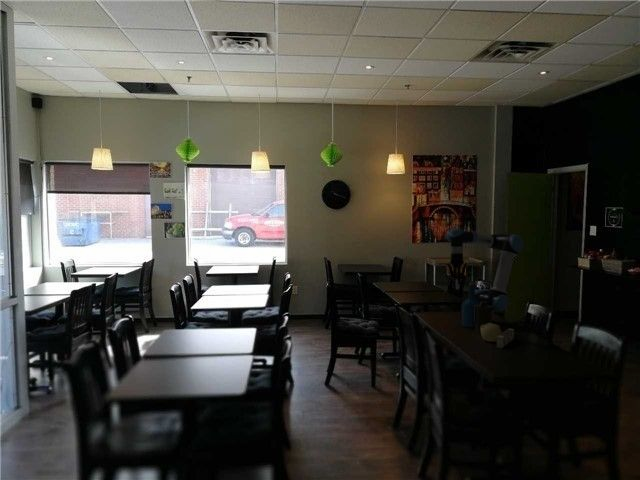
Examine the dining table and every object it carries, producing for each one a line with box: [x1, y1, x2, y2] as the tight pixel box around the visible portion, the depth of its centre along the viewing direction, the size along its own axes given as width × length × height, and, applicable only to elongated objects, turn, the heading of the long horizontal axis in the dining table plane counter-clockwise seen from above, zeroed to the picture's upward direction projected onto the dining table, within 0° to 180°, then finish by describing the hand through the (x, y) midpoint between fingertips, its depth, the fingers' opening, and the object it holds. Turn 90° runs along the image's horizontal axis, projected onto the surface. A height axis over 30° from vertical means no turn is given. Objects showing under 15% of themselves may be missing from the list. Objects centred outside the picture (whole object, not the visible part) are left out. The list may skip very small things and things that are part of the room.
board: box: [496, 328, 515, 349], centre depth 273 cm, size 24×3×6 cm, turn 142°
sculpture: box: [480, 323, 503, 343], centre depth 277 cm, size 12×12×11 cm
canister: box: [474, 301, 492, 335], centre depth 297 cm, size 11×10×20 cm
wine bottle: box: [461, 281, 480, 329], centre depth 315 cm, size 14×13×30 cm
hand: (457, 288), depth 298 cm, fingers closed
